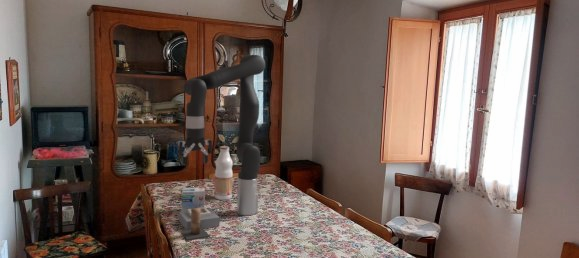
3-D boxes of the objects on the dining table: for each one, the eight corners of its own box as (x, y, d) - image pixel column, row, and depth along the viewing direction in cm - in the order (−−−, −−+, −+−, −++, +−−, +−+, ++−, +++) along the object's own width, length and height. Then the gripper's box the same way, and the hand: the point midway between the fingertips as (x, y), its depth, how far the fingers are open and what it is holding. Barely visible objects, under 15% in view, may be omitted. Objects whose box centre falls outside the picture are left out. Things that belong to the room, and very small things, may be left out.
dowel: (198, 231, 156) (199, 207, 155) (201, 234, 153) (201, 210, 152) (189, 232, 154) (190, 208, 153) (192, 235, 151) (192, 211, 150)
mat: (202, 229, 159) (202, 228, 159) (209, 236, 152) (209, 235, 152) (181, 232, 155) (181, 231, 155) (187, 240, 147) (187, 239, 147)
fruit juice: (219, 201, 198) (221, 148, 195) (211, 196, 206) (212, 145, 203) (235, 198, 204) (236, 147, 201) (226, 194, 212) (227, 144, 208)
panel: (209, 216, 176) (209, 204, 175) (219, 226, 163) (219, 213, 163) (178, 220, 168) (178, 208, 168) (186, 231, 156) (187, 218, 156)
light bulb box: (181, 214, 176) (181, 191, 175) (181, 209, 183) (181, 187, 181) (204, 213, 179) (205, 191, 178) (204, 208, 185) (204, 187, 184)
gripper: (208, 125, 166) (208, 161, 168) (175, 126, 158) (175, 164, 160) (214, 127, 159) (214, 164, 161) (180, 128, 152) (180, 167, 154)
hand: (195, 164), depth 161 cm, fingers open, 8 cm apart
